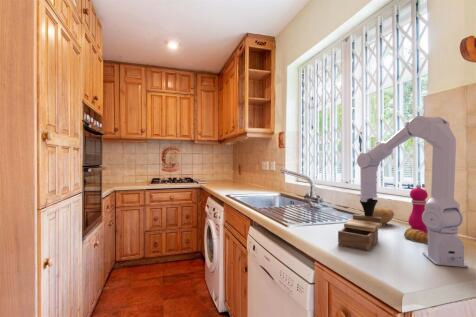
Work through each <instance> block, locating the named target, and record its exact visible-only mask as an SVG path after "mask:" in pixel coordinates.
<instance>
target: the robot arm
mask: <svg viewBox="0 0 476 317" xmlns="http://www.w3.org/2000/svg"><path fill="white" fill-rule="evenodd" d="M411 138H419V139H422V140H424V141H425V142H427V143H428V144H429V145H431V146H432V159H431V160H432V162H431V163H432V164H431V185H430V186H431V188H430V189H431V190H430V191H431V192H430V194H431V195H430V198H429V199H428V200H427V201H426V204H425V210H424V212H423V214H422V221H423V223H424V224H425V226H426V227H427V230H428V243H427V251H422V254H423V255H424V256H425V258H427V259H429V261H430V262H432V263H433V264H434V265H438V266H448V267H449V266H451V267H463V268H468V267H469V265H468V264H466V263H465V244H464V242H463V241H462V239H461V238H459V234H458V233H459V227H460V226H461V225H462V224H463V221H464V216H463V214H462V212H461V209H460V208H461V205H460V204H459V202H458V201H457V200H455V180H456V179H455V178H456V156H457V155H456V154H457V149H456V148H457V139H456V137H455V135H454V132H453V131H452V130H451V128H450V122H449V121H448V120H445V119H444V118H442V117H440V116H438V117H437V116H436V117H435V116H434V117H433V116H424V115H416V116H414V117H412V118H411V119H410V120H408V121H407V122H405V124H404V126H403V127H401V129H400V130H398V131H397V132H396V133H395V134H394V135H392V136H391V137H390V138H389V139H387V140H386V141H378V142H377V143H375V145H374V146H373V147H372V148H371V149H368V150H367V152H361V153H359V155H358V156H357V158H356V163H357V165H358V167H360V193H357V196H358V197H360V199H359V203H360V204H361V207H362V209H363V213H364V214H365V215H364V216H373V212H374V208H375V207H376V205H377V204H378V199H377V198H378V193H377V191H378V190H377V189H378V188H377V187H378V184H377V182H378V181H377V177H378V176H377V174H378V173H377V172H378V168H379V166H380V163H381V162H382V161H383V160H385V159H387V158H388V157H389V156H391V155H392V154H393V152H394V149H395V148H397V147H399V146H400V145H402V144H403V143H405V142H407V141H408V140H410V139H411Z"/></svg>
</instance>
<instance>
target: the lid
mask: <svg viewBox="0 0 476 317" xmlns="http://www.w3.org/2000/svg"><path fill="white" fill-rule="evenodd" d="M382 226H383V225H382V218H380V217H372V216H365V215H363V214H362V215H361V214H356V213H355V214H352V219H350V220H349V221H347V222H344V223H343V228H345V227H347V228H353V229H359V230H365V231H371V232H374V231H375V230H376V229H378V230H379V228H380V227H382Z"/></svg>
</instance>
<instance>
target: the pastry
mask: <svg viewBox="0 0 476 317" xmlns="http://www.w3.org/2000/svg"><path fill="white" fill-rule="evenodd" d="M403 237H405V239H407V240H408V239H409V240H411V241H413V242H417V243H421V244H428V234H427V233H425V232H423V231H421V230H414V229H412V228H411V227H409V228H406V230H405V231H404V233H403Z"/></svg>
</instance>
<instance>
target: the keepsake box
mask: <svg viewBox="0 0 476 317" xmlns="http://www.w3.org/2000/svg"><path fill="white" fill-rule="evenodd" d="M337 238H338V239H337V246H339V247H344V248H349V249H353V250H358V251H363V252H368V253H369V252H371V250H373V248H375V246H376V245H378V244H379V228H378V229H376V230H375V231H374V232H371V231H365V230H359V229H353V228H347V227H343V228H341V229H339V230H338V231H337Z"/></svg>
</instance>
